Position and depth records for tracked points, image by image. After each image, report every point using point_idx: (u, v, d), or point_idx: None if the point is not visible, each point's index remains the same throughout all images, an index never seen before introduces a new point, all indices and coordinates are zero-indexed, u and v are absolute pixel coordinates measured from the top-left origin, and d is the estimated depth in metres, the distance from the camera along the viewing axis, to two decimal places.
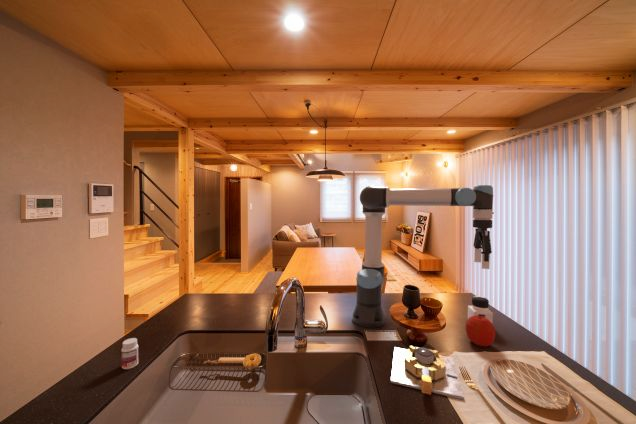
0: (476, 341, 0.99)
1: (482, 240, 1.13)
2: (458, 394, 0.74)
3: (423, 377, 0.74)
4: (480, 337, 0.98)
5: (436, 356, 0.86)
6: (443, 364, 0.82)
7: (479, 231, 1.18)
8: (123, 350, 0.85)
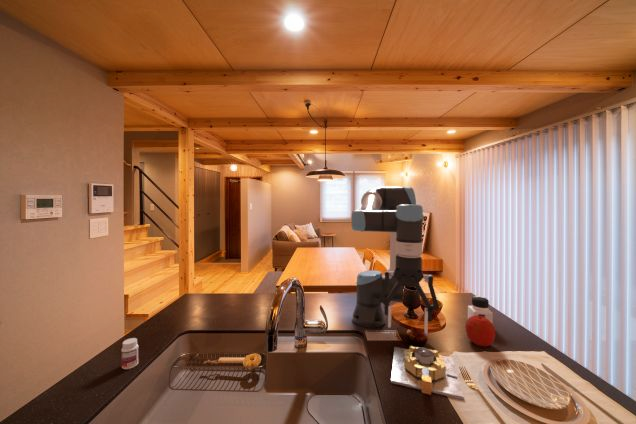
0: (476, 341, 0.99)
1: (395, 285, 0.80)
2: (458, 394, 0.74)
3: (423, 377, 0.74)
4: (480, 337, 0.98)
5: (436, 356, 0.86)
6: (443, 364, 0.82)
7: None
8: (123, 350, 0.85)
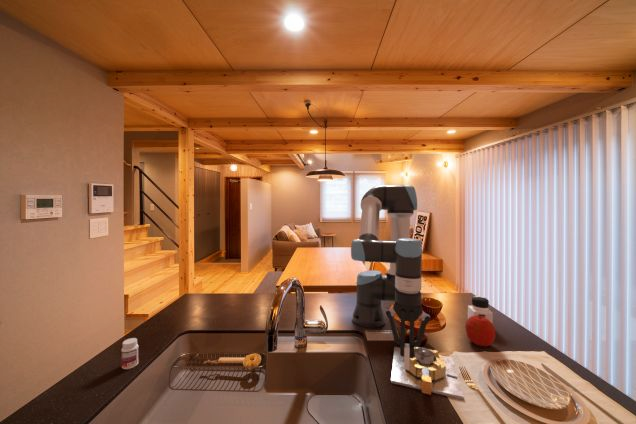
0: (476, 341, 0.99)
1: None
2: (458, 394, 0.74)
3: (423, 377, 0.74)
4: (480, 337, 0.98)
5: (436, 356, 0.86)
6: (443, 364, 0.82)
7: None
8: (123, 350, 0.85)
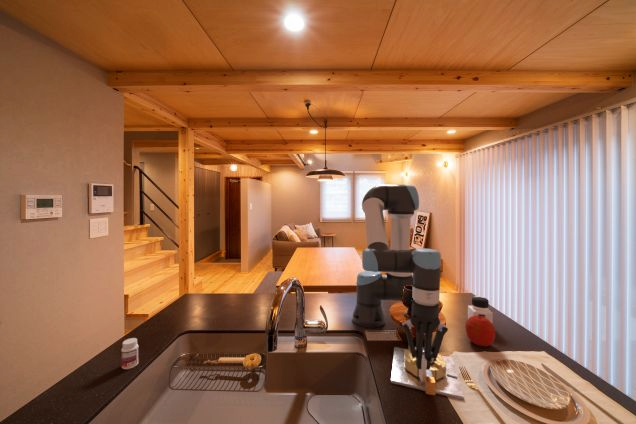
0: (476, 341, 0.99)
1: (416, 334, 0.78)
2: (458, 394, 0.74)
3: (427, 378, 0.74)
4: (480, 337, 0.98)
5: None
6: (443, 363, 0.82)
7: None
8: (123, 350, 0.85)
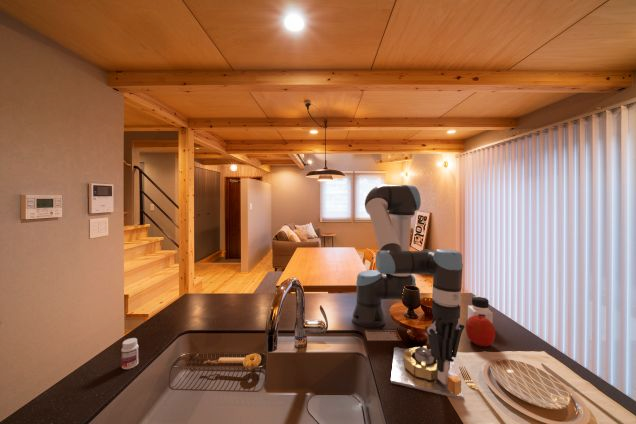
0: (476, 341, 0.99)
1: (437, 337, 0.76)
2: (458, 394, 0.74)
3: (451, 378, 0.74)
4: (480, 337, 0.98)
5: None
6: None
7: None
8: (123, 350, 0.85)
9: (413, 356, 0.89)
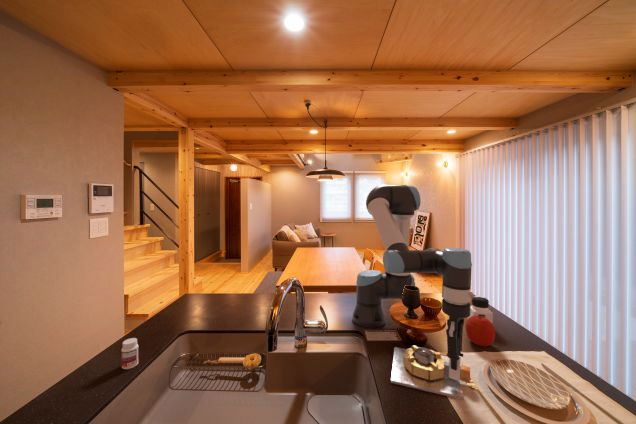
0: (476, 341, 0.99)
1: None
2: (458, 394, 0.74)
3: (464, 369, 0.78)
4: (480, 337, 0.98)
5: None
6: (432, 351, 0.89)
7: None
8: (123, 350, 0.85)
9: None
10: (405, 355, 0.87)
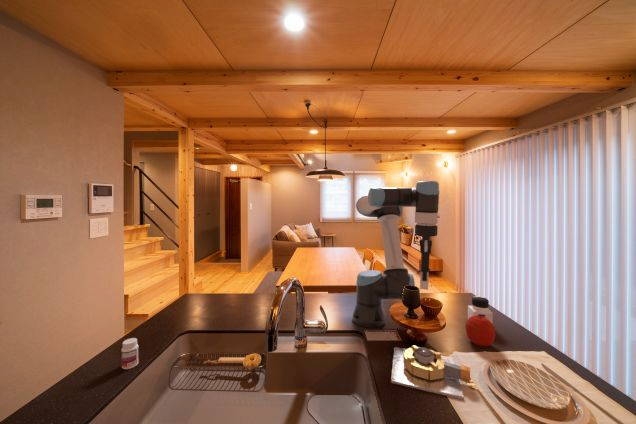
0: (476, 341, 0.99)
1: None
2: (458, 394, 0.74)
3: (464, 369, 0.78)
4: (480, 337, 0.98)
5: None
6: (432, 351, 0.89)
7: None
8: (123, 350, 0.85)
9: None
10: (405, 355, 0.87)
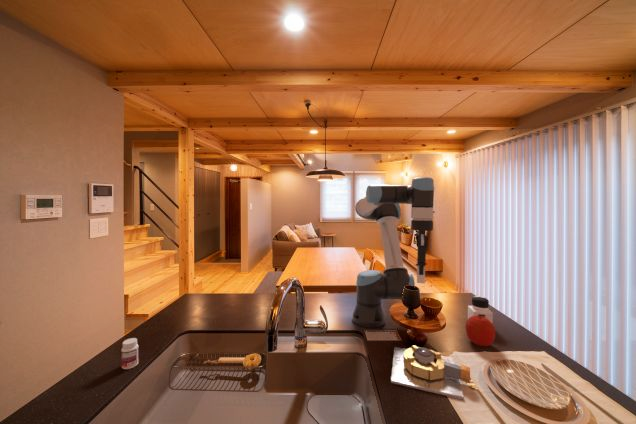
0: (476, 341, 0.99)
1: None
2: (458, 394, 0.74)
3: (464, 369, 0.78)
4: (480, 337, 0.98)
5: None
6: (432, 351, 0.89)
7: None
8: (123, 350, 0.85)
9: None
10: (405, 355, 0.87)
